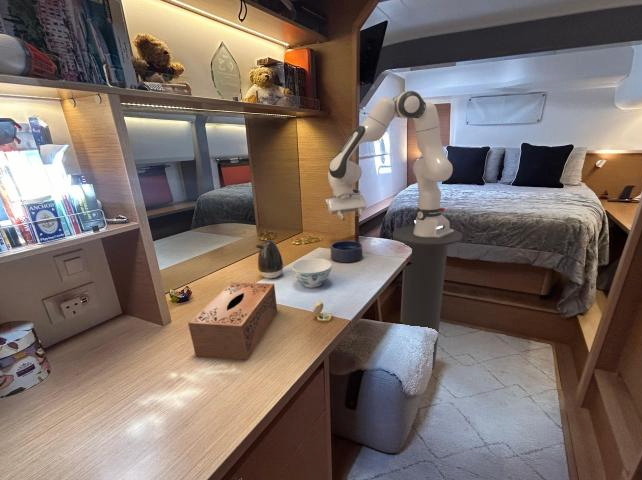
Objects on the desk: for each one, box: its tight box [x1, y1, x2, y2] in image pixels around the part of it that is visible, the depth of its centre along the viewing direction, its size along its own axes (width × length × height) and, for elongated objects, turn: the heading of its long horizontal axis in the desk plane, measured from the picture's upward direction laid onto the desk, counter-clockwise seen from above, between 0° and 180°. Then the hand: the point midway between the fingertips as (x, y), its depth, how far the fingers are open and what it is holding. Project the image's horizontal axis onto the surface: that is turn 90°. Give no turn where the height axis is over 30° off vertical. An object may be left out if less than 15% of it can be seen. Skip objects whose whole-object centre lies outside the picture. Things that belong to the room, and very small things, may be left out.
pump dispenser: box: [255, 239, 285, 279], centre depth 136 cm, size 10×10×15 cm
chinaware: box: [291, 257, 333, 288], centre depth 128 cm, size 15×15×8 cm
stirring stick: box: [354, 214, 361, 243], centre depth 166 cm, size 3×3×16 cm
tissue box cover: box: [187, 281, 278, 361], centre depth 98 cm, size 26×14×10 cm, turn 170°
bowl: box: [329, 240, 363, 263], centre depth 154 cm, size 14×14×6 cm
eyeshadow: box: [312, 301, 332, 323], centre depth 104 cm, size 4×5×5 cm
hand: (351, 218), depth 169 cm, fingers open, 8 cm apart
